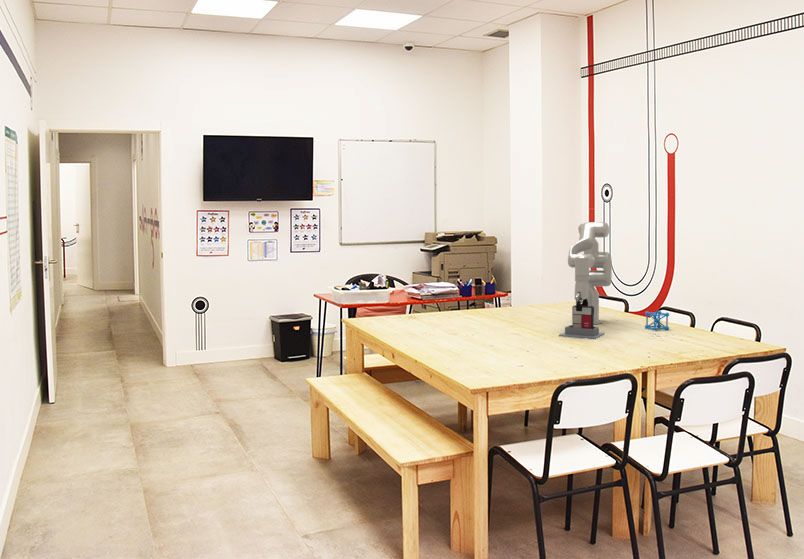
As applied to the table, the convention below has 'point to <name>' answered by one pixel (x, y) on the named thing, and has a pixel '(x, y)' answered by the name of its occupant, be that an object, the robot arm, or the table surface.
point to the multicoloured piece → (583, 317)
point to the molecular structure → (657, 320)
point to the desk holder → (582, 332)
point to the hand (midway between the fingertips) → (582, 309)
